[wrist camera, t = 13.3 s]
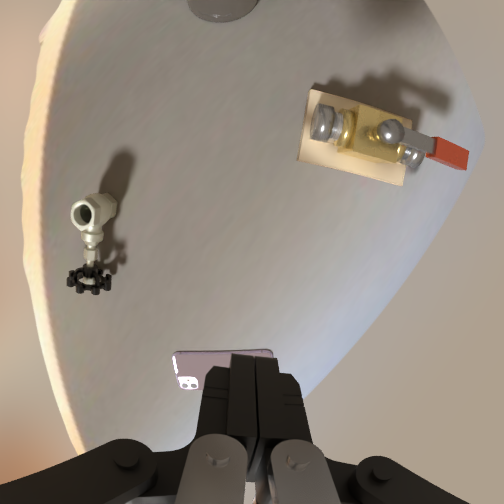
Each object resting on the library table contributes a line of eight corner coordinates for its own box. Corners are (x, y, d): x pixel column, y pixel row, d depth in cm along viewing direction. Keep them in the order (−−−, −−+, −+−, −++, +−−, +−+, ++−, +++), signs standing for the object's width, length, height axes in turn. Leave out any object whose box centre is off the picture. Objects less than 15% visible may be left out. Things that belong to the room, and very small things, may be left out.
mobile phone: (273, 389, 44) (178, 391, 44) (272, 386, 45) (179, 387, 45) (272, 351, 42) (169, 353, 42) (272, 347, 43) (171, 350, 43)
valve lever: (374, 140, 26) (382, 139, 25) (377, 117, 26) (385, 115, 24) (456, 170, 27) (466, 171, 25) (459, 150, 27) (469, 150, 25)
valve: (87, 187, 36) (80, 269, 39) (62, 192, 30) (57, 286, 33) (130, 195, 36) (119, 281, 40) (109, 202, 30) (100, 300, 33)
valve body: (312, 104, 32) (329, 89, 25) (407, 132, 33) (439, 128, 26) (305, 145, 34) (320, 140, 26) (401, 170, 35) (433, 173, 27)
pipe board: (308, 91, 33) (314, 84, 30) (407, 121, 34) (421, 118, 31) (296, 160, 36) (302, 159, 32) (397, 185, 37) (410, 187, 33)
